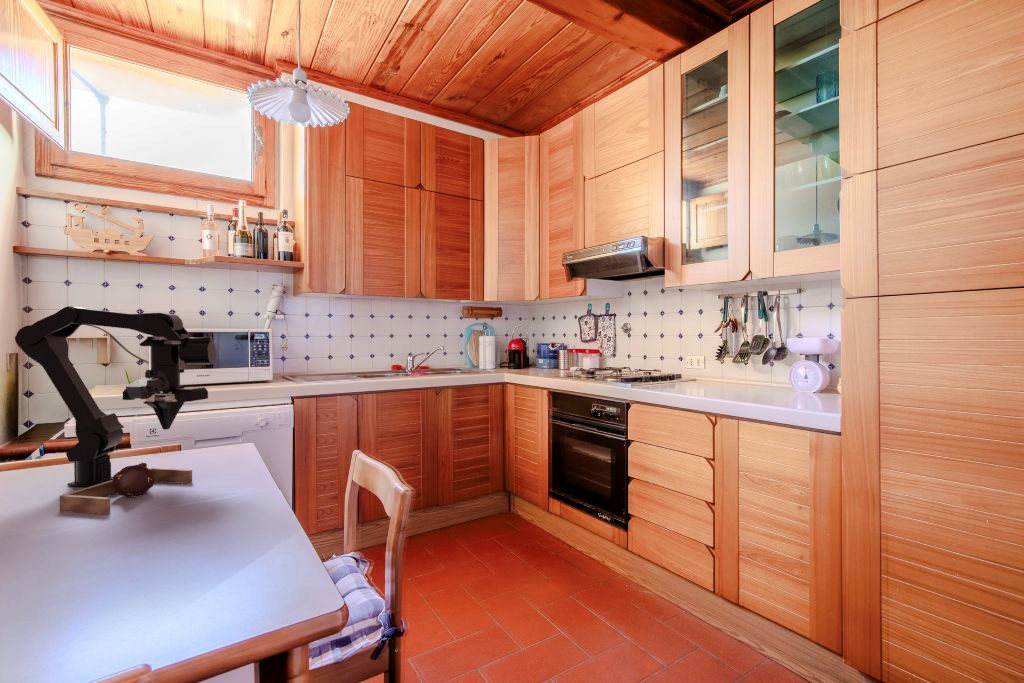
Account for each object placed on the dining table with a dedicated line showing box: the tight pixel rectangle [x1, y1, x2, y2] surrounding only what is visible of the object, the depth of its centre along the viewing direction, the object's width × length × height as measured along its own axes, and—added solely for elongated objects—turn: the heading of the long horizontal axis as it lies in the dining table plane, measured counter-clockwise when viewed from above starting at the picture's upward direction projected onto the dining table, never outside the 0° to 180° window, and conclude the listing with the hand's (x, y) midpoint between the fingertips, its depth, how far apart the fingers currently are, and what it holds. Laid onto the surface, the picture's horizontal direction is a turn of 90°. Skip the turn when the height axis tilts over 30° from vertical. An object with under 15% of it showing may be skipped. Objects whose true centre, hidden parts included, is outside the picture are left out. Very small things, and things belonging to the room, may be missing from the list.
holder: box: [59, 467, 193, 515], centre depth 104 cm, size 11×20×3 cm, turn 171°
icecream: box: [112, 462, 155, 498], centre depth 104 cm, size 7×7×15 cm
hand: (166, 429), depth 117 cm, fingers closed
